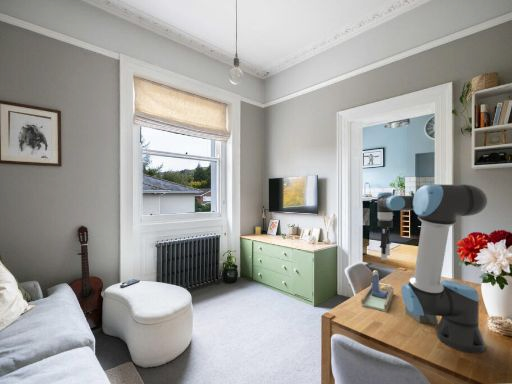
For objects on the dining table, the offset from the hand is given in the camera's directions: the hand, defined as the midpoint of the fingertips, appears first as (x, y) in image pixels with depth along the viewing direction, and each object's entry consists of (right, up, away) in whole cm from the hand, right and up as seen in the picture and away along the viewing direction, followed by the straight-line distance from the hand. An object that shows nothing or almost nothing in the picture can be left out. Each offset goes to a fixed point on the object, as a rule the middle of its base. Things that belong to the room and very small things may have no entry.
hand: (385, 257), depth 140 cm
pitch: (-4, -24, +1) cm, 24 cm away
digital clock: (+6, -24, -19) cm, 32 cm away
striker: (-2, -22, +3) cm, 23 cm away
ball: (+3, -21, +8) cm, 22 cm away
